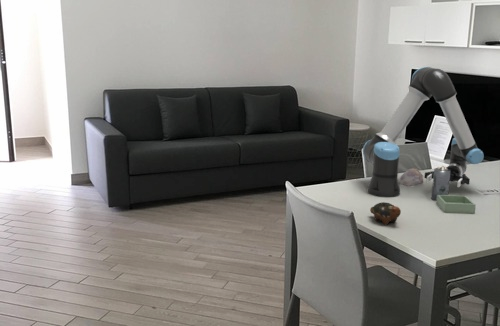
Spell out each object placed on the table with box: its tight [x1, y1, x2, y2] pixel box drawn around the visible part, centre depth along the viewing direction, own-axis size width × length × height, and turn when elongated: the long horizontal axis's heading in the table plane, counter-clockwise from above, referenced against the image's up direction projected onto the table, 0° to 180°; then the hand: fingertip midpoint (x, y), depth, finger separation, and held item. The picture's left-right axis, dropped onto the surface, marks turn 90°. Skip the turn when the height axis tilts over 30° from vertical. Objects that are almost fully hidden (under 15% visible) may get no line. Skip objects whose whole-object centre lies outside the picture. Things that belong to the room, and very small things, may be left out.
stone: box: [398, 168, 424, 188], centre depth 273 cm, size 17×10×10 cm
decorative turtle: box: [369, 201, 402, 226], centre depth 214 cm, size 10×15×8 cm, turn 36°
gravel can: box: [431, 165, 451, 202], centre depth 244 cm, size 7×7×16 cm
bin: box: [435, 194, 476, 215], centre depth 232 cm, size 13×13×4 cm
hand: (442, 182), depth 243 cm, fingers open, 13 cm apart
